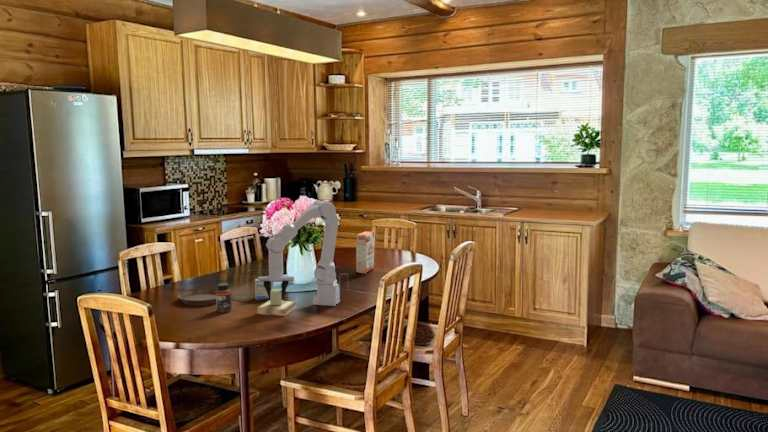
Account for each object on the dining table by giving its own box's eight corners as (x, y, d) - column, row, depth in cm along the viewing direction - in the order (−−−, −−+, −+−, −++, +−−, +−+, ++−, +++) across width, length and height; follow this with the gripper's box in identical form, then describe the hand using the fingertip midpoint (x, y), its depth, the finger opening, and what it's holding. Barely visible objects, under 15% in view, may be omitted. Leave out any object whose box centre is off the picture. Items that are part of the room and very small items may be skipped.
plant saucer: (237, 298, 258) (236, 291, 258) (200, 309, 241) (200, 302, 240) (204, 292, 269) (204, 285, 268) (167, 303, 251) (167, 295, 251)
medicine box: (255, 300, 255) (255, 280, 254) (255, 297, 259) (254, 278, 258) (273, 298, 257) (273, 279, 256) (273, 296, 261) (272, 277, 260)
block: (283, 302, 241) (283, 289, 241) (281, 304, 237) (281, 291, 236) (272, 302, 241) (272, 289, 240) (270, 305, 237) (270, 291, 236)
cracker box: (366, 274, 303) (366, 235, 301) (355, 274, 305) (355, 234, 302) (374, 269, 317) (374, 231, 314) (364, 268, 318) (364, 230, 316)
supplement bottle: (225, 308, 243) (225, 281, 241) (234, 310, 239) (233, 283, 238) (213, 311, 238) (212, 284, 237) (222, 314, 234) (221, 286, 233)
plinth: (296, 307, 244) (295, 301, 243) (285, 315, 232) (285, 309, 232) (269, 305, 246) (269, 299, 246) (257, 313, 235) (257, 307, 234)
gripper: (295, 264, 241) (295, 296, 243) (259, 264, 241) (260, 296, 242) (292, 268, 234) (293, 300, 236) (256, 268, 234) (257, 301, 235)
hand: (276, 299), depth 238 cm, fingers closed on block, 4 cm apart
